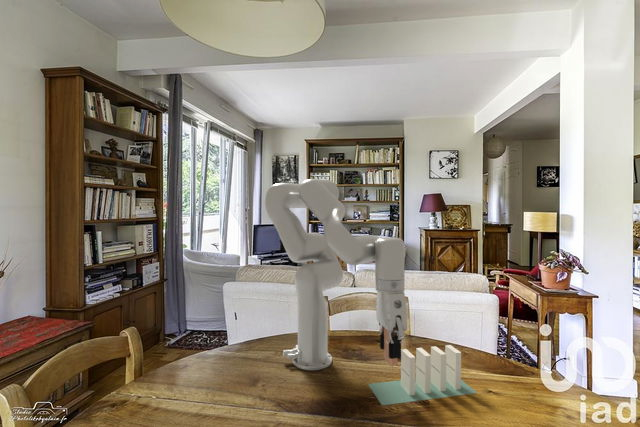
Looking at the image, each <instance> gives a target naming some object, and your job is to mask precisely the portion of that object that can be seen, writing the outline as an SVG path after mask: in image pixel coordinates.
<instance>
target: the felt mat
mask: <svg viewBox="0 0 640 427" xmlns="http://www.w3.org/2000/svg"><path fill="white" fill-rule="evenodd" d="M367 385H368V387H369V388H370V390H371V391H372V393H373V395H375V398H376V399H377V401H378V402H379V403H380V405H381V406H389V405H395V404H403V403H404V404H405V403H413V402H418V401H419V402H420V401H427V400H435V399H440V398H441V399H442V398H449V397H451V398H452V397H455V396H456V397H458V396H465V395H472V394H478V392H477V391H476V390H475V389H473V388H472V387H471V386H470V385H468V384H467V382H465V381H464V380H462V379H461V389H457V390H455V389H454V388H453V387H452V386H451V385H450V384H449V383H447V382H446V391H441V392H440V391H439V390H438V389H437V388H436V387H435V386H434V385H433V384H432V383H431V393H426V394H425V393H424V392H423V391H422V390H421V389H420V388H419V386H418V385H417V384H416V377H415V395H410V396H409V394H408V393H407V392H406V391H405V390H404V388H403V387H402V386H401V379H398V380H391V381H383V382H372V383H368V384H367Z"/></svg>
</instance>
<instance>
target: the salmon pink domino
mask: <svg viewBox="0 0 640 427" xmlns="http://www.w3.org/2000/svg"><path fill="white" fill-rule="evenodd" d="M393 330H397V329H396V328H393ZM395 335H397V333H393V337H394V336H395ZM389 342H390V337H389V331H388V330H387V329H386V328H385V327H384V349H383V358H384V359H385V360H386V362H387V363H388V364H390V366H391V367H395V366H398V360H399V358H393V359H390V358H389Z"/></svg>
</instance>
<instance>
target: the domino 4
mask: <svg viewBox="0 0 640 427" xmlns="http://www.w3.org/2000/svg"><path fill="white" fill-rule="evenodd" d="M444 347H445V348H444V353H446V382H447V383H449V384H450V385H451V386H452V387H453V388H454V389H455V390H457V389H461V380H462V352H461V351H459V350H458V349H457V348H455V347H454V346H453V345H451V344H446V345H445V346H444Z"/></svg>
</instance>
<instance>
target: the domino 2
mask: <svg viewBox="0 0 640 427" xmlns="http://www.w3.org/2000/svg"><path fill="white" fill-rule="evenodd" d="M415 378H416V384H417V385H418V386H419V388H420V389H421V390H422V391H423V392H424V393H425V394H426V393H431V353H429V352H427V350H425V349H424V348H423V347H416V348H415Z"/></svg>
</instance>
